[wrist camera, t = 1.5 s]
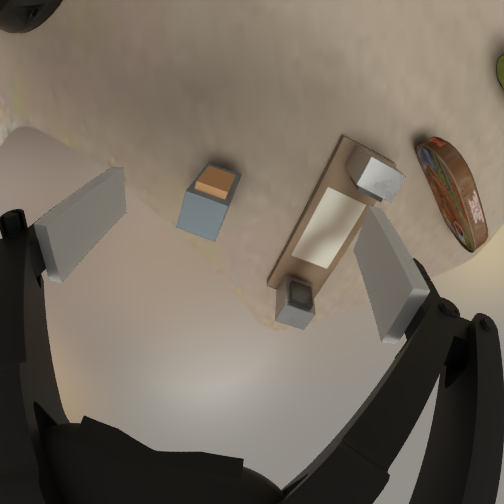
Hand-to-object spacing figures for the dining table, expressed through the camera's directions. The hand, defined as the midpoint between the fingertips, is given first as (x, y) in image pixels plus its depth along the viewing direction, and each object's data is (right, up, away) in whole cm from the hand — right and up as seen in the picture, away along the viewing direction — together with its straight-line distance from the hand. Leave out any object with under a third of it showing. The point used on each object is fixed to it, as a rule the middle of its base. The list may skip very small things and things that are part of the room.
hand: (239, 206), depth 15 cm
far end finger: (+6, -7, +25) cm, 27 cm away
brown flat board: (+10, +1, +21) cm, 23 cm away
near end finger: (+13, +8, +15) cm, 21 cm away
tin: (+24, +6, +16) cm, 30 cm away
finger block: (-3, +6, +19) cm, 20 cm away
